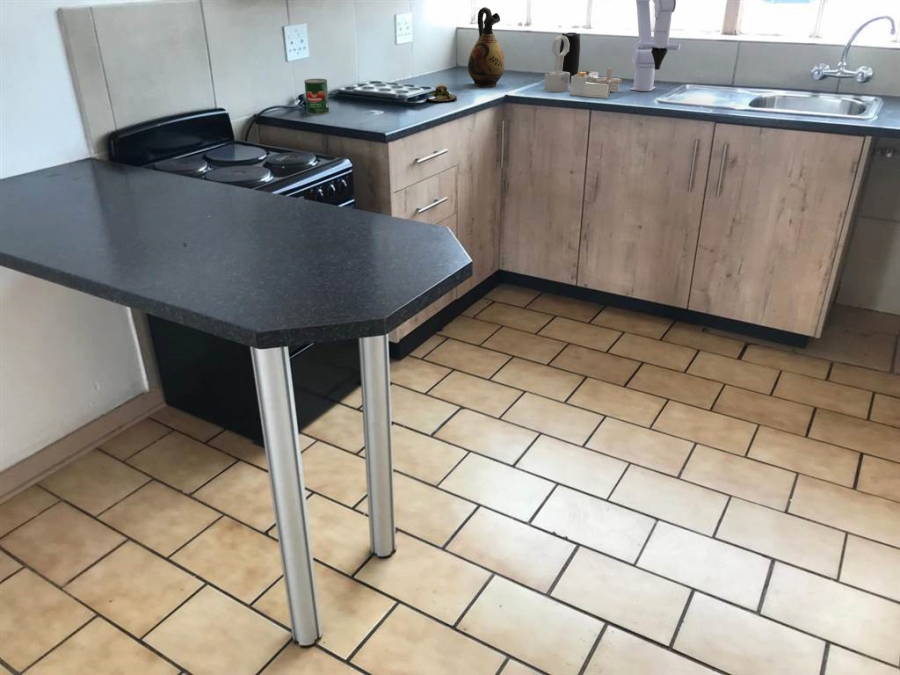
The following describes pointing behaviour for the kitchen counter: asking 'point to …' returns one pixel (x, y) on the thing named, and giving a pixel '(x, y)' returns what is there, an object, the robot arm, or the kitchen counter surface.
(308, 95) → the canned tomato
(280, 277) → the kitchen counter surface
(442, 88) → the burger
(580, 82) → the motor housing
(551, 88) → the engine component
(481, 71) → the ceramic jug
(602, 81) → the pipe connector
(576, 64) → the portable speaker
